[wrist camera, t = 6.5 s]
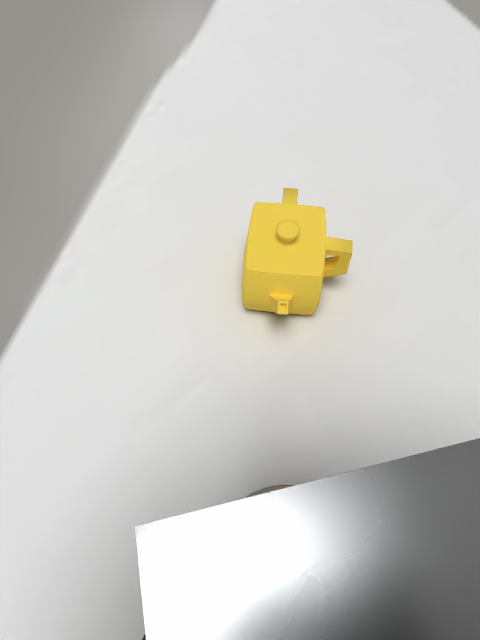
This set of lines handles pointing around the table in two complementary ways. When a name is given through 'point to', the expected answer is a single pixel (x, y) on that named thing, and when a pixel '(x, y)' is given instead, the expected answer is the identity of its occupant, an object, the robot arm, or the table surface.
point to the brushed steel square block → (325, 558)
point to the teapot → (289, 257)
